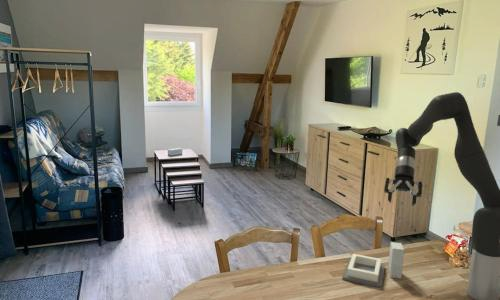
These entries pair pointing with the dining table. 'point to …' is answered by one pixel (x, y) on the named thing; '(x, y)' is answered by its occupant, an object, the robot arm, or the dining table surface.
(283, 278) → the dining table surface
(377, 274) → the socket plate
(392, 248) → the skincare box
